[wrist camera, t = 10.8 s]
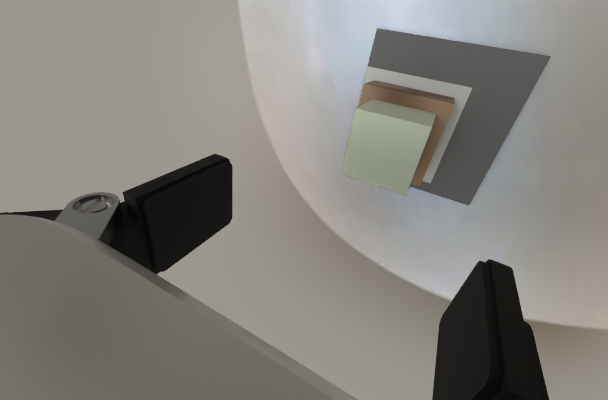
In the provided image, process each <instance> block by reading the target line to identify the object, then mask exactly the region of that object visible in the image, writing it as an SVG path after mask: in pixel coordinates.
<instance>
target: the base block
mask: <svg viewBox="0 0 608 400" xmlns="http://www.w3.org/2000/svg"><path fill="white" fill-rule="evenodd" d="M372 99H375V100H379V101H383V102H388V103H392V104H397V105H401V106H405V107H410V108H414V109H418V110H423V111H427V112H432V113H436V116H435V119H434V123H433V126H432V129H431V131H430V134H429V137H428V139H427V142H426V144H425V147H424V150H423V152H422V155H421V157H420V160H419V163H418V165H417V168H416V170H415V173H414V176H413V178H412V181H411V183H410V184H413V185H416V186H420V185H421V183H422V180H423V178H424V176H425V173H426V171H427V169H428V166H429V164H430V161H431V159H432V157H433V154H434V152H435V150H436V147H437V145H438V142H439V140H440V138H441V135H442V133H443V131H444V128H445V126H446V124H447V121H448V119H449V116H450V114H451V112H452V109H453V107H454V105H455V99H454V97H449V96H445V95H440V94H436V93H431V92H426V91H422V90H417V89H413V88H408V87H404V86H399V85H395V84H390V83H385V82H381V81H376V80H374V81H371V82H368V83H365V84H364V85H363V89H362V94H361V98H360V102H359V106H361V105H363V104H365V103H367V102H368V101H370V100H372ZM359 106H358V107H359Z"/></svg>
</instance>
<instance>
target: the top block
mask: <svg viewBox="0 0 608 400" xmlns="http://www.w3.org/2000/svg"><path fill="white" fill-rule="evenodd" d="M435 116H436V113H432V112H427V111H423V110H418V109H414V108H410V107H405V106H401V105H397V104H392V103H388V102H383V101H379V100H375V99H372V100H370V101H368V102H367V103H365V104H363V105H361V106H359V107H357V108H356V109H355V114H354V118H353V122H352V127H351V131H350V135H349V140H348V144H347V148H346V153H345V157H344V161H343V166H342V170H341V174H340V175H344V176H347V177H350V178H353V179H356V180H359V181H362V182H365V183H368V184H371V185H374V186H377V187H380V188H383V189H386V190H389V191H392V192H395V193H398V194H402V195H405V196H406V194H407V191H408V189H409V186H410V183H411V181H412V178H413V176H414V173H415V170H416V168H417V165H418V163H419V160H420V157H421V155H422V152H423V150H424V147H425V144H426V142H427V139H428V137H429V134H430V131H431V129H432V126H433V123H434V119H435Z"/></svg>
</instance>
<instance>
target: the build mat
mask: <svg viewBox="0 0 608 400" xmlns="http://www.w3.org/2000/svg"><path fill="white" fill-rule="evenodd" d="M550 57H551V56H544V55H538V54H532V53H526V52H520V51H513V50H507V49H501V48H495V47H489V46H482V45H476V44H470V43H464V42H458V41H451V40H445V39H439V38H433V37H427V36H421V35H414V34H408V33H402V32H396V31H390V30H383V29H377V31H376V35H375V39H374V43H373V47H372V52H371V56H370V60H369V64H368V67H367V71H366V75H365V79H364V83H363V85H364V84H365V83H368V82H371V81H374V80H376V81H381V82H385V83H390V84H395V85H399V86H404V87H408V88H413V89H417V90H422V91H426V92H431V93H436V94H440V95H445V96H449V97H454V99H455V105H454V107H453V109H452V112H451V114H450V116H449V119H448V121H447V124H446V126H445V128H444V131H443V133H442V135H441V138H440V140H439V142H438V145H437V147H436V150H435V152H434V154H433V157H432V159H431V161H430V164H429V166H428V169H427V171H426V173H425V176H424V178H423V180H422V183H421V185H420V186H416V185H413V184H410V186H411V187H414V188H417V189H420V190H423V191H426V192H429V193H432V194H435V195H439V196H442V197H445V198H448V199H451V200H454V201H457V202H460V203H463V204H466V205H469V204H470V202H471V201H472V199H473V197H474V195H475V193H476V191H477V190H478V188H479V186H480V184H481V182H482V181H483V179H484V177H485V175H486V173H487V171H488V170H489V168H490V166H491V164H492V162H493V161H494V159H495V157H496V155H497V153H498V151H499V150H500V148H501V146H502V144H503V142H504V141H505V139H506V137H507V135H508V133H509V131H510V130H511V128H512V126H513V124H514V122H515V121H516V119H517V117H518V115H519V113H520V111H521V110H522V108H523V106H524V104H525V102H526V101H527V99H528V97H529V95H530V93H531V91H532V90H533V88H534V86H535V84H536V82H537V81H538V79H539V77H540V75H541V73H542V71H543V70H544V68H545V66H546V64H547V62H548V61H549V59H550ZM362 89H363V87H362ZM361 94H362V91H361ZM360 98H361V95H360ZM359 102H360V99H359ZM358 106H359V104H358Z"/></svg>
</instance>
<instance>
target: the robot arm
mask: <svg viewBox="0 0 608 400" xmlns="http://www.w3.org/2000/svg"><path fill="white" fill-rule="evenodd" d="M123 195H124V199H125V201H124V202H122V203H120V200H119V198H118V197H117V196H116V195H114V194H111V193H105V192H98V193H90V194H86V195H83V196H80V197H77V198H76V199H74V200H72V201H71V202H70V203H69V204H68V205H67V206H66V207H65V208H64V209H63V210H50V211H30V212H13V213H0V400H357V399H356V398H354V397H353V396H351V395H349V394H348V393H346V392H345V391H343V390H342V389H340V388H338V387H337V386H335V385H333V384H332V383H331V382H329V381H327V380H326V379H324V378H323V377H321V376H319V375H318V374H316V373H314V372H313V371H311V370H310V369H308V368H307V367H305V366H303V365H302V364H300V363H299V362H297V361H295V360H294V359H292V358H291V357H289V356H287V355H286V354H284V353H283V352H281V351H279V350H277V349H276V348H274V347H273V346H271V345H270V344H268V343H266V342H265V341H263V340H262V339H260V338H259V337H257V336H255V335H254V334H252V333H250V332H249V331H247V330H246V329H244V328H242V327H241V326H239V325H238V324H236V323H234V322H233V321H231V320H229V319H228V318H226V317H225V316H223V315H221V314H219V313H218V312H216V311H215V310H213V309H212V308H210V307H208V306H207V305H205V304H204V303H202V302H200V301H199V300H197V299H195V298H194V297H192V296H190V295H189V294H187V293H185V292H184V291H182V290H181V289H179V288H178V287H176V286H174V285H172V284H171V283H169V282H168V281H166V280H164V279H163V278H161V277H159V276H158V275H156V274H158V273H159V272H162V271H165V270H167V269H168V268H170V267H171V266H172V265H174V264H175V263H176V262H178V261H179V260H180V259H182V258H183V257H184V256H186V255H187V254H188V253H190V252H191V251H192V250H194V249H195V248H196V247H198V246H199V245H201V244H202V243H203V242H205V241H206V240H207V239H209V238H210V237H212V236H213V235H214V234H216V233H217V232H218V231H220V230H221V229H222V228H224V227H225V226H226V225H228V224H229V223H230V221H231V219H232V165H231V163H230V161H229V159H228V158H225V157H223V156H220V155H217V154H213V155H211V156H208V157H206V158H204V159H201V160H199V161H196V162H194V163H192V164H189V165H187V166H184V167H182V168H180V169H177V170H175V171H172V172H170V173H168V174H165V175H163V176H161V177H158V178H156V179H154V180H151V181H149V182H146V183H144V184H142V185H139V186H137V187H134V188H132V189H129V190H127V191H125V192H123ZM432 400H549V397H548V393H547V389H546V385H545V381H544V377H543V373H542V369H541V364H540V360H539V356H538V352H537V347H536V343H535V339H534V335H533V331H532V329H531V326H530V325H529V324H528V323H527V322H525V321H524V320H523V315H522V311H521V306H520V301H519V297H518V292H517V288H516V283H515V278H514V274H513V270H512V268H511V267H509V266H506V265H504V264H501V263H498V262H496V261H493V260H491V259H490V260H487V261H486V262H482V261H479V262H478V263H477V264H476V266H475V267H474V269H473V270H472V272H471V273H470V275H469V276H468V278H467V279H466V281H465V282H464V284H463V285H462V287H461V288H460V290H459V291H458V293H457V294H456V296H455V297H454V299H453V300H452V302H451V303H450V305H449V306H448V308H447V309H446V311H445V312H444V314H443V316H442V318H441V321H440V324H439V334H438V345H437V356H436V367H435V377H434V388H433V399H432Z"/></svg>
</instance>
